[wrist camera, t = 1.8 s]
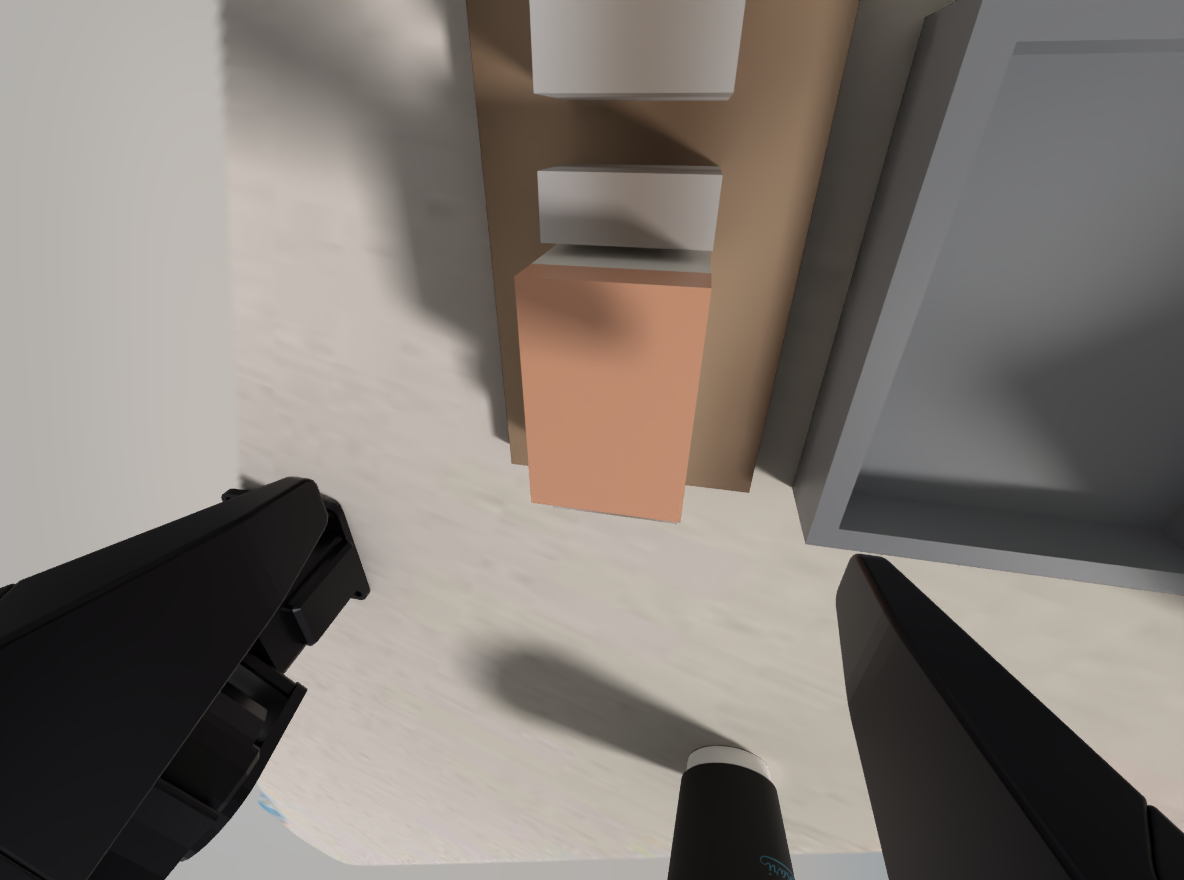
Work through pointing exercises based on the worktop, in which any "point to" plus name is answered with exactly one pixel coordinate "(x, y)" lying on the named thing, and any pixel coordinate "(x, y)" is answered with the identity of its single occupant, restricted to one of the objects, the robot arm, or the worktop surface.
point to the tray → (1018, 306)
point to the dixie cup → (728, 820)
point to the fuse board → (663, 169)
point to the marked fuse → (612, 374)
